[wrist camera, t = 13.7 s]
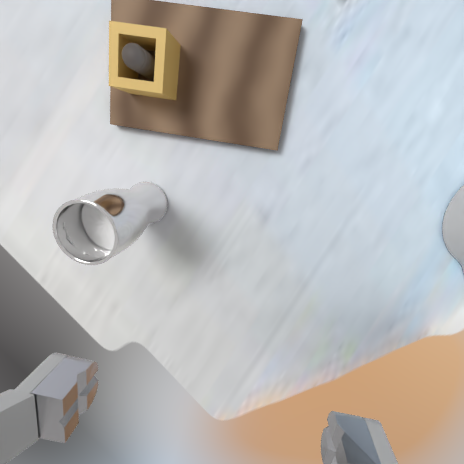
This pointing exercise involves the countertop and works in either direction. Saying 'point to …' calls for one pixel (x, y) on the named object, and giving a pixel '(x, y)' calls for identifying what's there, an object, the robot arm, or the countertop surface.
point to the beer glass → (107, 221)
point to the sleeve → (149, 40)
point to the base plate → (211, 73)
